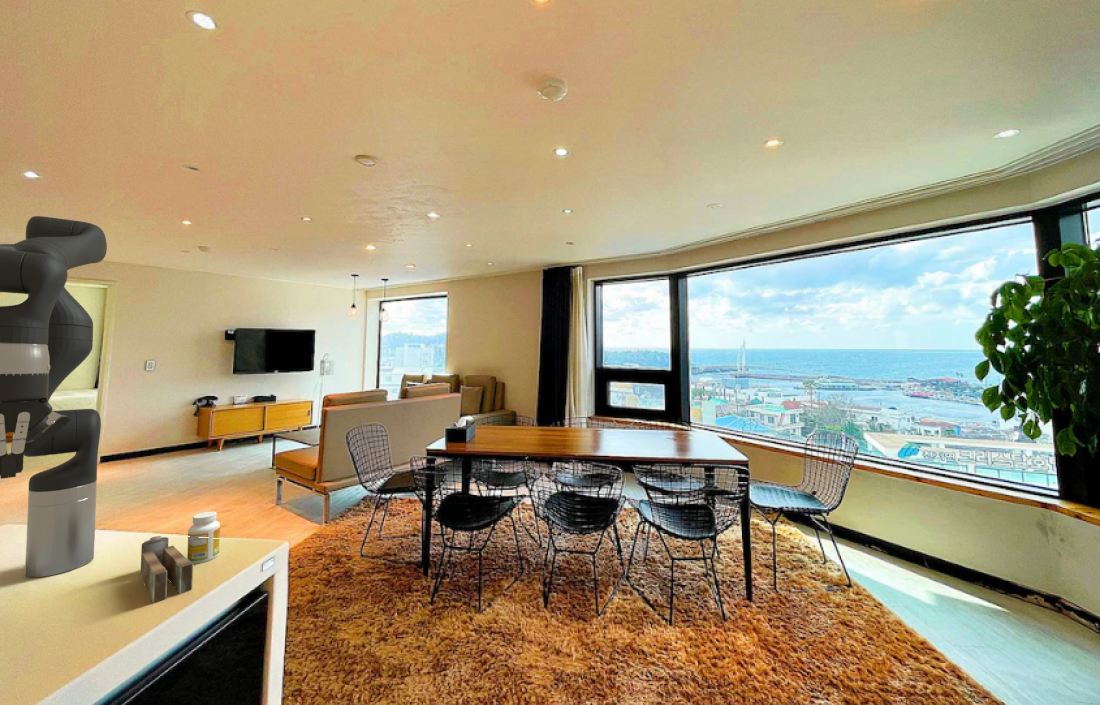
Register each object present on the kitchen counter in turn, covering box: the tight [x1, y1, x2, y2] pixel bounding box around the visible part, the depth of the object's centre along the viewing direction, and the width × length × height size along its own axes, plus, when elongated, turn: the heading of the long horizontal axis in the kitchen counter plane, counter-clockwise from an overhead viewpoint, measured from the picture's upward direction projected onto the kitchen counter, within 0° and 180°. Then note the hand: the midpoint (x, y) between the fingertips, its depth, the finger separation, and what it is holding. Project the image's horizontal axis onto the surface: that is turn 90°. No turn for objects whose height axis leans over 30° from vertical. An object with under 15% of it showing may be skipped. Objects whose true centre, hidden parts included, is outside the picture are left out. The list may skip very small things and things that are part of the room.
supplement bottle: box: [186, 511, 221, 564], centre depth 88 cm, size 5×5×10 cm
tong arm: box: [140, 551, 168, 603], centre depth 76 cm, size 13×2×5 cm, turn 53°
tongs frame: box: [140, 535, 194, 595], centre depth 79 cm, size 18×4×7 cm, turn 56°
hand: (7, 477), depth 65 cm, fingers closed
